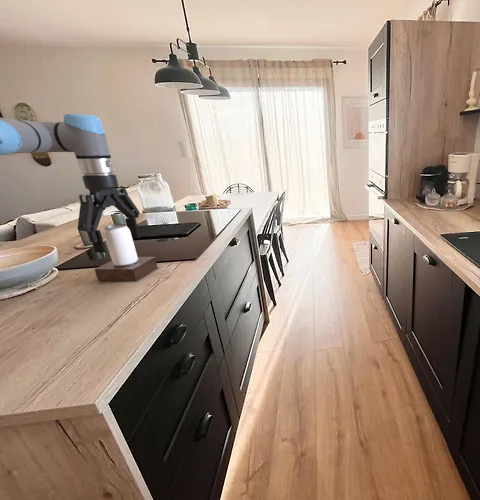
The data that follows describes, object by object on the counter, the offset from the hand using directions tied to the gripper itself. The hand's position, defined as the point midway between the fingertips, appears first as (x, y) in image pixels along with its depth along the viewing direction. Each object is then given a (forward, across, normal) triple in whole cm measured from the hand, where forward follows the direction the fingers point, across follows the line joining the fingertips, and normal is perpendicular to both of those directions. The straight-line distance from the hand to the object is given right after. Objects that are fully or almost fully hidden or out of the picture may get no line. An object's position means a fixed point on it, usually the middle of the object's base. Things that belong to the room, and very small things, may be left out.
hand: (119, 244), depth 89 cm
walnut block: (+10, 0, 0) cm, 10 cm away
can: (+6, 0, 0) cm, 6 cm away
